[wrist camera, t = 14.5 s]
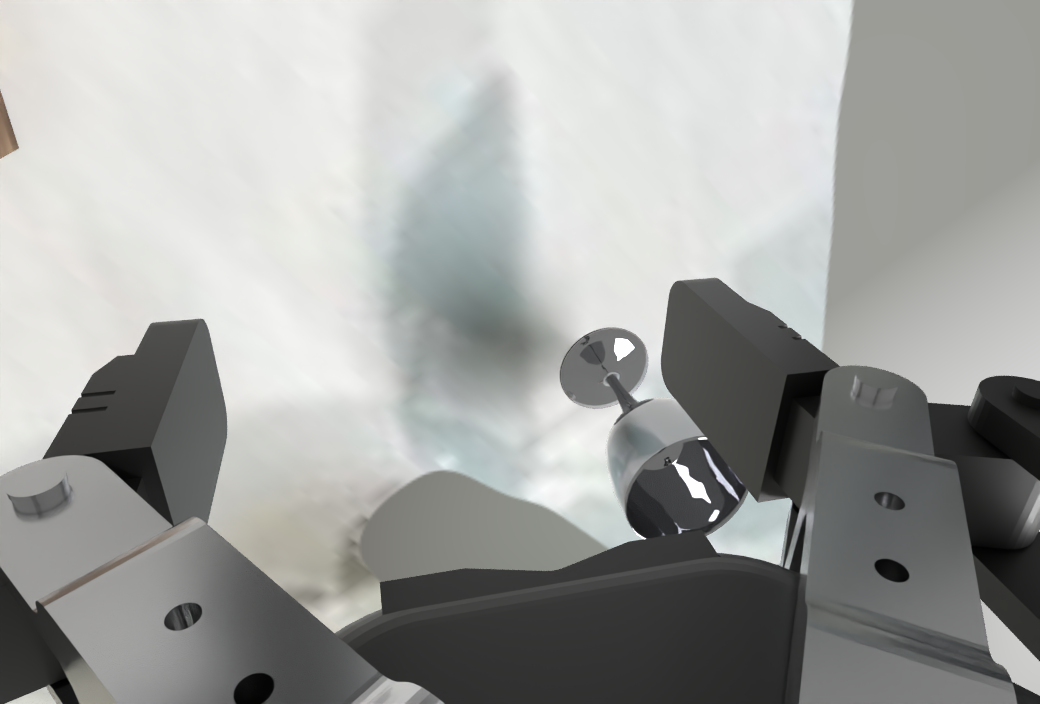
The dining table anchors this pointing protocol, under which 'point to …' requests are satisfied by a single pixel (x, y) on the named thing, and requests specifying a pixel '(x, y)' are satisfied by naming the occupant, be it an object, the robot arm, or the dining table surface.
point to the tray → (6, 132)
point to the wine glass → (650, 442)
